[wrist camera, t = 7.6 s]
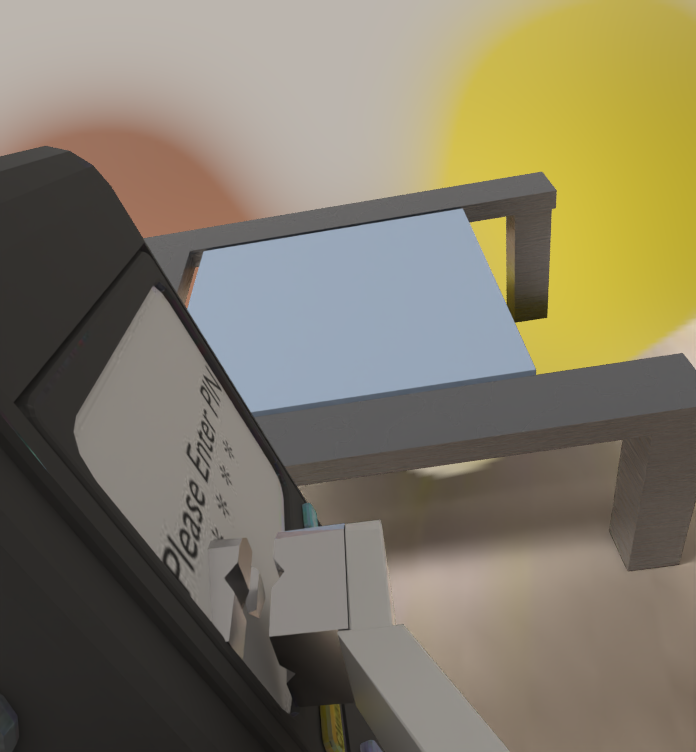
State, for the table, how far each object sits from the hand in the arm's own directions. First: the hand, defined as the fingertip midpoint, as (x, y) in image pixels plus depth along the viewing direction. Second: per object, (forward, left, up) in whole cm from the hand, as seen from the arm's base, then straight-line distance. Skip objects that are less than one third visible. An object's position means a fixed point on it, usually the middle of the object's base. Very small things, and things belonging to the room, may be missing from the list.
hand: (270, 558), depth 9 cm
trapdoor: (0, +19, -8) cm, 21 cm away
